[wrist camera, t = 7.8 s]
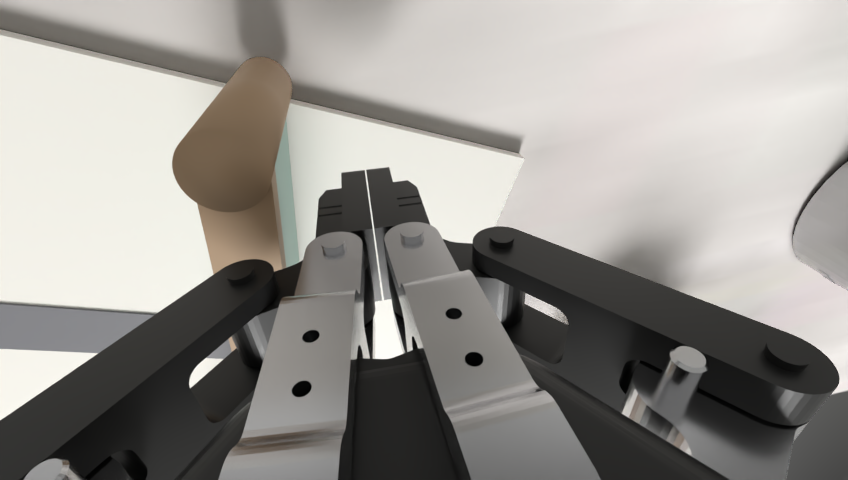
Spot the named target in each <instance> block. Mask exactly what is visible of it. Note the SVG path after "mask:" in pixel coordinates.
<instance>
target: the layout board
mask: <svg viewBox="0 0 848 480" xmlns="http://www.w3.org/2000/svg"><path fill="white" fill-rule="evenodd" d="M226 84H227V83H223V82H218V81H214V80H210V79H206V78H202V77H198V76H193V75H189V74H185V73H181V72H177V71H173V70H168V69H164V68H160V67H156V66H152V65H147V64H143V63H139V62H135V61H131V60H127V59H122V58H118V57H114V56H110V55H106V54H102V53H97V52H93V51H89V50H85V49H81V48H77V47H72V46H68V45H64V44H60V43H56V42H51V41H47V40H43V39H39V38H35V37H31V36H26V35H22V34H18V33H14V32H10V31H6V30H1V29H0V420H2V419H3V418H5V417H6V416H7V415H9V414H10V413H12V412H13V411H15V410H16V409H18V408H19V407H21V406H22V405H24V404H25V403H26V402H28V401H29V400H31V399H32V398H34V397H35V396H37V395H38V394H40V393H41V392H43V391H44V390H45V389H47V388H48V387H50V386H51V385H53V384H54V383H56V382H57V381H59V380H60V379H62V378H63V377H64V376H66V375H67V374H69V373H70V372H72V371H73V370H75V369H76V368H78V367H79V366H81V365H82V364H84V363H85V362H86V361H88V360H89V359H91V358H92V357H94V356H95V355H97V354H98V353H100V352H101V351H103V350H104V349H105V348H107V347H108V346H110V345H111V344H113V343H114V342H116V341H117V340H119V339H120V338H122V337H123V336H124V335H126V334H127V333H129V332H130V331H132V330H133V329H135V328H136V327H138V326H139V325H141V324H142V323H143V322H145V321H146V320H148V319H149V318H151V317H152V316H154V315H155V314H157V313H158V312H160V311H161V310H162V309H164V308H165V307H167V306H168V305H170V304H171V303H173V302H174V301H176V300H177V299H179V298H180V297H181V296H183V295H184V294H186V293H187V292H189V291H190V290H192V289H193V288H195V287H196V286H198V285H199V284H201V283H202V282H203V281H205V280H206V279H208V278H209V277H211V276H212V275H214V274H213V270H212V265H211V261H210V257H209V253H208V248H207V244H206V240H205V235H204V231H203V227H202V223H201V218H200V214H199V210H198V205H197V203H196V202H195V201H193V200H192V199H191V198H189V197H188V196H187V195H186V194H185V193H184V192H183V190H182V189H181V188H180V186H179V185H178V183H177V181H176V179H175V177H174V174H173V169H172V159H173V154H174V151H175V149H176V147H177V145H178V144H179V143H180V142H181V140H182V139H183V138H184V137H185V135H186V134H187V133H188V132H189V130H190V129H191V128H192V126H193V125H194V124H195V123H196V121H197V120H198V119H199V118H200V116H201V115H202V114H203V113H204V111H205V110H206V109H207V108H208V106H209V105H210V104H211V103H212V101H213V100H214V99H215V98H216V96H217V95H218V94H219V92H220V91H221V90H222V89H223V87H224V86H225V85H226ZM286 122H287V133H288V144H289V154H290V165H291V176H292V187H293V198H294V209H295V219H296V230H297V241H298V252H299V262H300V261H302V260H303V258H304V254H305V250H306V247H307V246H308V244H309V243H310V242H311V241H313V240H314V239H315V237H316V225H317V217H318V216H317V213H318V201H319V198H320V197H321V196H322V194H323V193H324V192H325V191H326V190H331V189H339V188H342V186H341V173H342V172H351V171H360V170H365V176H366V183H367V190H368V198H369V205H370V212H371V219H372V227H373V234H374V242H375V250H376V257H377V265H378V273H379V280H380V288H381V296H382V301H376V302H375V315H374V319H375V359H390V358H393V357H396V356H399V355H401V354H403V352H402V348H401V344H400V341H399V337H398V333H397V329H396V326H395V322H394V314H393V306H392V300H391V299H388V300H384V297H383V289H382V282H381V275H380V267H379V260H378V253H377V246H376V238H375V231H374V224H373V216H372V209H371V202H370V194H369V187H368V180H367V172H366V170H368V169H377V168H385V167H389V168H390V172H391V176H392V180H393V182H397V181H406V180H408V181H409V182H411V183H412V184H414V185H415V186H416V187H417V188H418V191H419V194H420V197H421V200H422V203H423V205H424V208H425V211H426V214H427V217H428V219H429V222H430V225H432V226H433V227H435V228H436V229H437V230H438V231H439V233H440V235H441V237H442V239H445V240H448V241H451V242H457V243H472V244H473V238H474V236H475V235H476V234H477V233H478V232H479V231H481V230H483V229H486V228H490V227H495V225H496V223H497V221H498V218H499V216H500V214H501V211H502V209H503V207H504V205H505V202H506V200H507V198H508V196H509V193H510V191H511V189H512V186H513V184H514V182H515V180H516V177H517V175H518V173H519V171H520V168H521V166H522V164H523V161H524V158H523V157H522V156H521V155H520V154H519V153H515V152H511V151H507V150H502V149H498V148H494V147H490V146H486V145H481V144H477V143H473V142H469V141H465V140H461V139H456V138H452V137H448V136H444V135H440V134H436V133H431V132H427V131H423V130H419V129H415V128H410V127H406V126H402V125H398V124H394V123H390V122H385V121H381V120H377V119H373V118H369V117H365V116H360V115H356V114H352V113H348V112H344V111H340V110H335V109H331V108H327V107H323V106H319V105H314V104H310V103H306V102H302V101H298V100H294V99H291V100H290V104H289V108H288V112H287V117H286ZM231 352H232V351H231V347H230V342H229V339H228V340H227V341H225V342H224V343H223V344H222V345H221V346H219V347H218V348H217V349H216V350H215V351H213V352H212V353H211V354H210V355H209V356H208V357H206V358H205V359H204V360H203V361H202V362H200V363H199V364H198V365H197V366H196V368H195V369H194V370H193V372H192V374H191V377H190V380H189V386H190V388H191V387H192V386H194V385H195V384H196V383H197V382H198V381H199V380H200V379H202V378H203V377H204V376H205V375H206V374H207V373H208V372H210V371H211V370H212V369H213V368H214V367H215V366H216V365H218V364H219V363H220V362H221V361H222V360H223V359H224V358H226V357H227V356H228V355H229V354H230V353H231Z"/></svg>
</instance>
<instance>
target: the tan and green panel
mask: <svg viewBox="0 0 848 480" xmlns="http://www.w3.org/2000/svg"><path fill="white" fill-rule="evenodd" d="M291 95H292V82H291V79H290V76H289V74H288V73H287V71H286V70H285V69H284V68H283V66H281V65H280V64H279V63H278V62H276V61H274V60H272V59H270V58H266V57H254V58H250V59H248V60H247V61H245V62H244V63H243V64H242V65H241V66H240V67H239V69H238V70H237V71H236V72H235V74H234V75H233V76H232V77H231V79H230V80H229V81H228V82H227V84H226V85H225V86H224V87H223V89H222V90H221V91H220V92H219V94H218V95H217V96H216V98H215V99H214V100H213V101H212V103H211V104H210V105H209V106H208V108H207V109H206V110H205V111H204V113H203V114H202V115H201V116H200V118H199V119H198V120H197V121H196V123H195V124H194V125H193V126H192V128H191V129H190V130H189V132H188V133H187V134H186V135H185V137H184V138H183V139H182V140H181V142H180V143H179V144H178V145H177V147H176V149H175V151H174V154H173V159H172V169H173V174H174V177H175V179H176V181H177V183H178V185H179V186H180V188H181V189H182V190H183V192H184V193H185V194H186V195H187V196H188V197H189V198H191V199H192V200H193V201H195V202H196V203H197V205H198V210H199V214H200V218H201V223H202V227H203V231H204V235H205V240H206V244H207V248H208V253H209V257H210V261H211V265H212V270H213V274H215V273H217V272H218V271H220V270H221V269H223V268H224V267H226V266H228V265H230V264H233V263H235V262H238V261H242V260H248V259H260V260H264V261H267V262H269V263H270V264H271V265H272V266H273V269H274V272H275V271H278V270H281V269H284V268H287V267H289V266H292V265H295V264H297V263H299V252H298V241H297V230H296V219H295V209H294V198H293V187H292V176H291V165H290V154H289V144H288V133H287V122H286V117H287V112H288V108H289V104H290V100H291ZM229 342H230V347H231V351H234V350H235V349H236V346H235V343H234V341H233V339H232V337H230V338H229Z"/></svg>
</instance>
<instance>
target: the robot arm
mask: <svg viewBox="0 0 848 480" xmlns="http://www.w3.org/2000/svg"><path fill="white" fill-rule="evenodd" d="M366 172H367V180H368V187H369V194H370V202H371V209H372V216H373V224H374V231H375V238H376V246H377V253H378V260H379V267H380V275H381V282H382V289H383V297H384V300H388V299H391V300H392V306H393V314H394V322H395V326H396V329H397V333H398V337H399V341H400V344H401V348H402V352H403V354H401V355H399V356H396V357H393V358H390V359H375V319H374V315H375V302H376V301H382V296H381V288H380V280H379V273H378V265H377V257H376V250H375V242H374V234H373V227H372V219H371V212H370V205H369V198H368V190H367V183H366V176H365V170H360V171H351V172H342V173H341V186H342V188H339V189H331V190H326V191H325V192H324V193H323V194H322V196H321V197H320V198H319V201H318V213H317V216H318V217H317V225H316V237H315V239H314V240H313V241H311V242H310V243H309V244H308V246H307V247H306V250H305V254H304V258H303V260H302V261H300V262H299V263H297V264H295V265H292V266H289V267H287V268H284V269H281V270H278V271H275V272H274V269H273V266H272V265H271V264H270V263H269V262H267V261H264V260H260V259H248V260H242V261H238V262H235V263H233V264H230V265H228V266H226V267H224V268H223V269H221V270H220V271H218V272H217V273H215V274H214V275H212V276H211V277H209V278H208V279H206V280H205V281H203V282H202V283H201V284H199V285H198V286H196V287H195V288H193V289H192V290H190V291H189V292H187V293H186V294H184V295H183V296H181V297H180V298H179V299H177V300H176V301H174V302H173V303H171V304H170V305H168V306H167V307H165V308H164V309H162V310H161V311H160V312H158V313H157V314H155V315H154V316H152V317H151V318H149V319H148V320H146V321H145V322H143V323H142V324H141V325H139V326H138V327H136V328H135V329H133V330H132V331H130V332H129V333H127V334H126V335H124V336H123V337H122V338H120V339H119V340H117V341H116V342H114V343H113V344H111V345H110V346H108V347H107V348H105V349H104V350H103V351H101V352H100V353H98V354H97V355H95V356H94V357H92V358H91V359H89V360H88V361H86V362H85V363H84V364H82V365H81V366H79V367H78V368H76V369H75V370H73V371H72V372H70V373H69V374H67V375H66V376H64V377H63V378H62V379H60V380H59V381H57V382H56V383H54V384H53V385H51V386H50V387H48V388H47V389H45V390H44V391H43V392H41V393H40V394H38V395H37V396H35V397H34V398H32V399H31V400H29V401H28V402H26V403H25V404H24V405H22V406H21V407H19V408H18V409H16V410H15V411H13V412H12V413H10V414H9V415H7V416H6V417H5V418H3V419H2V420H0V480H786V477H787V472H788V466H789V461H790V456H791V450H792V445H793V441H794V440H795V439H796V437H797V436H798V435H799V434H800V432H801V431H802V430H803V429H804V427H805V426H806V425H807V424H808V422H809V421H810V420H811V419H812V417H813V416H814V415H815V414H816V412H817V411H818V410H819V409H820V407H821V406H822V405H823V404H824V403H825V401H826V400H827V399H828V397H829V396H830V395H831V394H832V393H833V391H834V390H835V389H836V388H837V386H838V384H839V374H838V371H837V369H836V367H835V366H834V364H833V363H832V362H831V360H830V359H829V358H828V357H827V356H826V355H825V354H823V353H822V352H821V351H820V350H819V349H817V348H816V347H814V346H813V345H811V344H810V343H808V342H806V341H804V340H803V339H801V338H799V337H796V336H794V335H792V334H789V333H787V332H784V331H781V330H779V329H776V328H773V327H771V326H768V325H766V324H763V323H760V322H758V321H755V320H752V319H750V318H747V317H745V316H742V315H739V314H737V313H734V312H731V311H729V310H726V309H724V308H721V307H718V306H716V305H713V304H711V303H708V302H705V301H703V300H700V299H697V298H695V297H692V296H690V295H687V294H684V293H682V292H679V291H676V290H674V289H671V288H669V287H666V286H663V285H661V284H658V283H655V282H653V281H650V280H648V279H645V278H642V277H640V276H637V275H635V274H632V273H629V272H627V271H624V270H621V269H619V268H616V267H614V266H611V265H608V264H606V263H603V262H600V261H598V260H595V259H593V258H590V257H587V256H585V255H582V254H579V253H577V252H574V251H572V250H569V249H566V248H564V247H561V246H559V245H556V244H553V243H551V242H548V241H545V240H543V239H540V238H538V237H535V236H532V235H530V234H527V233H524V232H522V231H519V230H517V229H513V228H509V227H490V228H486V229H483V230H481V231H479V232H478V233H477V234H476V235H475V236H474V238H473V244H472V243H457V242H451V241H448V240H445V239H442V237H441V235H440V233H439V231H438V230H437V229H436V228H435V227H433V226H432V225H430V222H429V219H428V217H427V214H426V211H425V208H424V205H423V203H422V200H421V197H420V194H419V191H418V188H417V187H416V186H415V185H414V184H412V183H411V182H409V181H408V180H406V181H397V182H393V180H392V176H391V172H390V168H389V167H385V168H377V169H368V170H366ZM793 250H794V252H795V255H796V257H797V258H798V259H799V260H800V261H801V262H803V263H804V264H806V265H808V266H809V267H811V268H812V269H814V270H816V271H817V272H819V273H820V274H822V275H823V276H824V277H825V278H827V279H828V280H830V281H832V282H833V283H836V284H837V285H839V286H841V287H843V288H844V289H846V290H848V162H846V163H845V164H844V165H842V166H841V167H840V168H839V169H838V170H837V171H836V172H835V173H834V174H833V175H832V176H831V177H830V178H829V179H828V180H827V181H826V182H825V183H824V184H823V185H822V186H821V187H820V189H819V190H818V191H817V192H816V193H815V194H814V196H813V197H812V198H811V200H810V201H809V203H808V204H807V206H806V207H805V209H804V210H803V212H802V214H801V216H800V218H799V221H798V223H797V225H796V228H795V232H794V235H793ZM525 293H527V294H529V295H531V296H533V297H536V298H538V299H540V300H542V301H544V302H546V303H548V304H550V305H552V306H554V307H556V308H558V309H559V310H561V311H562V312H563V313H564V314H565V316H566V317H567V319H568V322H569V326H568V325H566V324H564V323H562V322H560V321H558V320H556V319H554V318H552V317H550V316H548V315H546V314H544V313H542V312H540V311H538V310H536V309H534V308H532V307H530V306H528V305H526V304H524V301H525ZM230 337H232V339H233V341H234V343H235V346H236V349H235V350H234V351H232V352H231V353H230V354H229V355H228V356H227V357H226V358H224V359H223V360H222V361H221V362H220V363H219V364H218V365H216V366H215V367H214V368H213V369H212V370H211V371H210V372H208V373H207V374H206V375H205V376H204V377H203V378H202V379H200V380H199V381H198V382H197V383H196V384H195V385H194V386H192V387H191V388H190V386H189V380H190V377H191V374H192V372H193V370H194V369H195V368H196V366H197V365H198V364H199V363H200V362H202V361H203V360H204V359H205V358H206V357H208V356H209V355H210V354H211V353H212V352H213V351H215V350H216V349H217V348H218V347H219V346H221V345H222V344H223V343H224V342H225V341H227V340H228V339H229V338H230Z"/></svg>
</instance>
